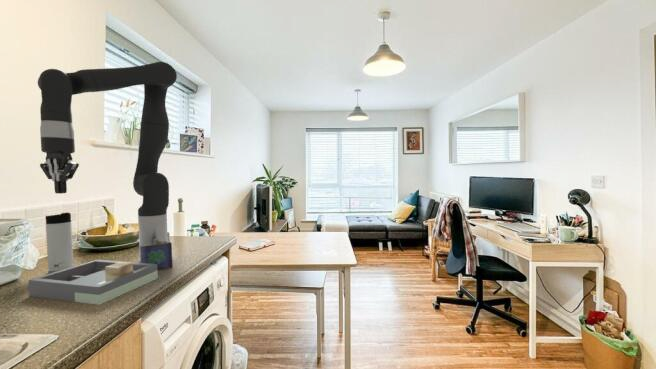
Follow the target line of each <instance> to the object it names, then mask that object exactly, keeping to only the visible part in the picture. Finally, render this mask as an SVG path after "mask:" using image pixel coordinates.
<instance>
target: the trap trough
mask: <svg viewBox="0 0 656 369" xmlns="http://www.w3.org/2000/svg"><path fill="white" fill-rule="evenodd" d="M118 262H123V261H122V260H121V261H120V260H107V259H106V260H105V259H94V260H91V261H87V262H83V263H81V264H78V265H74V266H73V267H70V268H67V269H63V270H60V271H57V272H53V273H50V274H49V273H47V274H44V275H41V276H37V277H34V278H30V279H28V280H27V282H28V296H29V297H32V298H33V297H34V298H40V299H49V300H57V301H65V302H72V303H73V302H75V303H82V304H90V305H98V306H99V305H103V304H105V303H107V302H109V301H111V300H113V299H116V298H117V297H120V296H122V295H124V294H127V293H128V292H132V291H133V290H135V289H137V288H139V287H141V286H145V285H146V284H149V283H150V282H153V281H154V280H157V279H159V276H158V275H159V274H158V273H159V272H158V271H159V270H157V264H149V263H141V262H133V261H128V262H129V263H133V272H131V273H128V274H126V275H123V276H121V277H118V278H115V279H113V280H110V281H108V282H106V276H105V267H106V266H109V265H112V264H115V263H118Z"/></svg>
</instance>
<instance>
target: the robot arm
mask: <svg viewBox="0 0 656 369" xmlns="http://www.w3.org/2000/svg"><path fill="white" fill-rule="evenodd" d="M177 76H178V74H177V72H176V70H175V68H174V67H173V65H171V64H170V63H168V62H164V61H155V62H151V63H148V64H143V65H135V66H128V67H115V68H112V67H110V68H88V69H80V70H77V71H74V72H63V71H62V70H59V69H57V68H49V69H46V70H43V71H42V72H41V73H40V75H39V77H38V79H37V86H38V88H39V90H40V91H41V93H40V94H41V102H40V125H39V126H40V128H39V129H40V130H39V132H40V149H41V152H42V153H46V157H45V161H44V162H43V163H40V164H39V167H40V168H41V170H42V172H43V173H44V175H45V176H46V178H47V179H48V180H51V181H52V182H54V184H53V185H54V193H55V194H58V195H59V194H66V193H67V192H68V191H67V190H68V187H67V182H68V180H72V179H73V177H74V175H75V173H76V171H77V170H78V168H79V167H80V163H78V162H74V161H73V157H72V154H74V153H75V152H76V149H75V148H76V147H75V146H76V145H75V131H74V126H73V115H72V114H73V113H72V98H73V95H74V96H75V95H80V94H85V93H98V92H108V91H109V92H110V91H115V90H120V89H125V88H129V87H130V88H131V87H134V86H141V85H143V91H144V93H143V94H144V95H143V106H142V110H141V111H142V112H141V118H140V119H141V120H140V130H139V141H138V142H139V143H138V154H137V161H136V168H135V172H134V174H133V181H132V185H133V187H132V188H133V190H134V192H135V193H136V194H138V195H139V196H142V204H141V206H140V207H138V208H137V209H138V210H137V219H138V220H137V221H138V243H139V245H138V246H139V249H140V246H141V245H146V244H154V241H153V240H154V239H155V238H158V241H160V242H161V241H163V242H164V241H166V242H171V241H170V240H171V238H170V232H169V231H168V217H167V214H168V213H167V210H168V207H169V203H170V202H169V201H170V186H169V180H168V178H167V177H166V176H165V174H163V173H160V172H158V171H159V170H158V168H159V167H158V165H159V161H160V157H161V156H162V153H163V151H164V150H165V147H166V146H167V144H168V143H167V142H168V139H169V130H170V126H169V125H170V121H169V116H168V112H167V109H166V100H167V99H166V98H167V92H168V88H170V87H172V86H173V85H175V83H176V81H177V78H178V77H177ZM139 263H141V252H140V251H139Z"/></svg>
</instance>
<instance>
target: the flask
mask: <svg viewBox="0 0 656 369" xmlns="http://www.w3.org/2000/svg"><path fill="white" fill-rule="evenodd" d="M153 241H154V244H146V245H141V246H140V248H139V253H140V252H141V262H140V263H149V264H157V271H159V270H160V271H161V270H168V269H172V268H173V247H172V246H173V245H172V244H173V243H172V242H171V241H170V242H166V241H164V242H163V241H161V242H160V241H158V238H155V239H154V240H153Z"/></svg>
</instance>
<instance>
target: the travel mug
mask: <svg viewBox="0 0 656 369" xmlns="http://www.w3.org/2000/svg"><path fill="white" fill-rule="evenodd" d="M71 216H72V215H71V212H60V213H59V214H53V215H45V232H46V251H47V252H46V253H47V255H46V256H47V269H48V270H47V271H48V273H47V274H50V273H53V272H57V271H60V270H63V269H67V268H70V267H73V266H75V265H74V250H73V249H74V248H73V228H72V219H71V218H72V217H71Z"/></svg>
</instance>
